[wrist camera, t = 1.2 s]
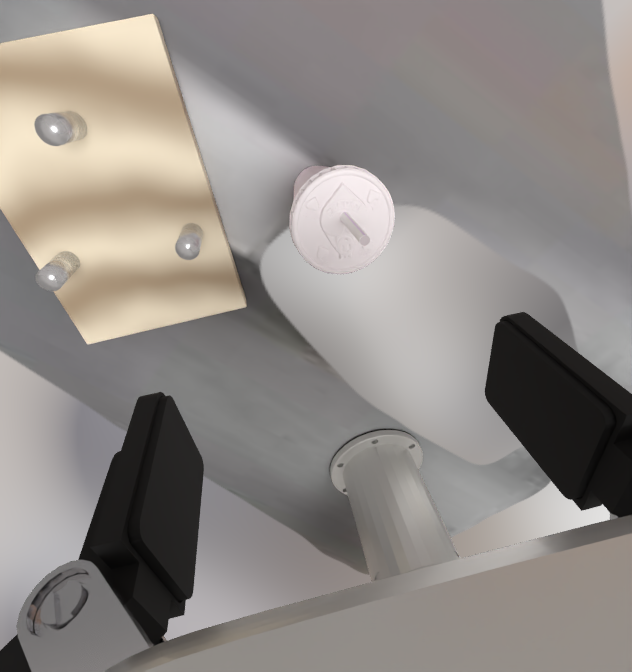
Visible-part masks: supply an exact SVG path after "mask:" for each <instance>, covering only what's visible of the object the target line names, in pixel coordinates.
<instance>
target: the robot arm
mask: <svg viewBox="0 0 632 672" xmlns="http://www.w3.org/2000/svg"><path fill="white" fill-rule="evenodd" d="M485 396H486V399H487V401H488V402H489V404H490V405H491V406H492V407H493V409H494V410H495V411H496V412H497V414H498V415H499V416H500V417H501V419H502V420H503V421H504V422H505V424H506V425H507V426H508V427H509V429H510V430H511V431H512V432H513V433H514V435H515V436H516V437H517V438H518V440H519V441H520V442H521V443H522V445H523V446H524V447H525V448H526V450H527V451H528V452H529V453H530V455H531V456H532V457H533V458H534V460H535V461H536V462H537V463H538V465H539V466H540V467H541V468H542V470H543V471H544V472H545V473H546V474H547V476H548V477H549V478H550V479H551V481H552V482H553V483H554V484H555V486H556V487H557V488H558V489H559V491H560V492H561V493H562V494H563V495H564V496H565V497H566V498H568V499H572V500H573V501H574V502H575V503H576V505H577V506H578V507H579V508H580V509H581V510H586V509H589V508H593V507H597V506H601V505H602V504H603V505H604V506H605V507H606V508H607V509H608V511H609V512H610V520H608V521H604V522H599V523H595V524H591V525H587V526H584V527H580V528H576V529H572V530H568V531H564V532H560V533H557V534H553V535H549V536H545V537H541V538H537V539H533V540H530V541H526V542H522V543H518V544H514V545H510V546H507V547H503V548H499V549H495V550H491V551H487V552H484V553H480V554H476V555H472V556H468V557H465V558H460V556H459V554H458V552H457V550H456V548H455V545H454V543H453V541H452V539H451V537H450V535H449V533H448V531H447V529H446V527H445V524H444V522H443V520H442V518H441V516H440V514H439V512H438V510H437V508H436V506H435V504H434V501H433V499H432V497H431V495H430V493H429V491H428V489H427V487H426V485H425V483H424V481H423V478H422V476H421V474H420V472H419V469H420V467H421V464H422V461H423V452H422V449H421V447H420V445H419V443H418V442H417V440H416V439H415V438H414V437H412V436H411V435H409V434H407V433H405V432H401V431H397V430H380V431H375V432H370V433H367V434H364V435H362V436H359V437H357V438H356V439H354V440H352V441H350V442H349V443H348V444H346V445H345V446H344V447H343V448H342V449H341V450H339V452H338V453H337V454H336V455H335V457H334V459H333V461H332V463H331V467H330V475H331V479H332V483H333V485H334V486H335V488H336V489H337V490H339V491H340V492H341V493H343V494H345V495H348V497H349V501H350V504H351V508H352V512H353V515H354V519H355V523H356V526H357V530H358V534H359V537H360V541H361V545H362V548H363V552H364V556H365V559H366V563H367V567H368V570H369V574H370V577H371V581H372V582H370V583H367V584H363V585H359V586H356V587H352V588H348V589H345V590H341V591H337V592H334V593H330V594H326V595H322V596H319V597H315V598H312V599H308V600H304V601H301V602H297V603H293V604H289V605H286V606H282V607H278V608H274V609H271V610H267V611H264V612H260V613H257V614H253V615H250V616H247V617H243V618H240V619H236V620H233V621H229V622H226V623H222V624H219V625H215V626H212V627H208V628H205V629H202V630H198V631H195V632H192V633H189V634H186V635H183V636H180V637H177V638H174V639H172V640H169V641H167V640H166V639H165V637H164V634H165V633H166V632H167V627H168V619H170V618H174V617H178V616H181V615H184V611H185V601H186V599H189V598H191V596H192V594H193V586H194V575H195V564H196V552H197V541H198V529H199V517H200V506H201V495H202V494H201V493H202V483H203V471H204V466H203V460H202V457H201V455H200V453H199V451H198V449H197V447H196V445H195V443H194V441H193V439H192V437H191V435H190V433H189V430H188V428H187V426H186V424H185V422H184V420H183V418H182V416H181V414H180V412H179V410H178V408H177V406H176V404H175V402H174V400H173V398H172V397H171V396H165V395H164V394H163V393H162V392H159V393H154V394H150V395H145V396H141V397H139V398H138V400H137V403H136V406H135V409H134V412H133V415H132V418H131V421H130V425H129V428H128V431H127V434H126V437H125V440H124V443H123V446H122V450H121V451H120V452H117V453H116V454H115V455H114V457H113V459H112V462H111V465H110V468H109V471H108V473H107V476H106V479H105V483H104V485H103V488H102V491H101V494H100V497H99V500H98V503H97V506H96V509H95V512H94V515H93V518H92V521H91V524H90V527H89V530H88V533H87V536H86V539H85V542H84V545H83V548H82V551H81V554H80V557H79V560H76V561H71V562H69V563H66V564H64V565H62V566H59V567H58V568H56V569H55V570H54V571H52V572H51V573H49V574H48V575H46V576H45V578H43V579H42V580H41V581H40V582H39V584H37V585H36V587H35V588H34V589H33V590H32V592H31V594H30V595H29V596H28V597H27V599H26V600H25V602H24V604H23V607H22V609H21V611H20V613H19V617H18V622H17V635H16V636H15V637H14V638H13V639H12V640H11V641H10V642H9V643H8V644H7V645H6V646H5V647H4V648H3V649H2V650H1V651H0V672H632V394H631V393H629V392H628V391H627V390H626V389H624V388H623V387H622V386H620V385H619V384H618V383H617V382H615V381H614V380H613V379H611V378H610V377H609V376H607V375H606V374H605V373H604V372H602V371H601V370H600V369H598V368H597V367H596V366H594V365H593V364H592V363H591V362H589V361H588V360H587V359H585V358H584V357H583V356H582V355H580V354H579V353H578V352H576V351H575V350H574V349H572V348H571V347H570V346H568V345H567V344H566V343H565V342H563V341H562V340H561V339H559V338H558V337H557V336H556V335H554V334H553V333H552V332H550V331H549V330H548V329H546V328H545V327H544V326H543V325H541V324H540V323H539V322H537V321H536V320H535V319H533V318H532V317H531V316H530V315H528V314H526V313H525V312H521V313H517V314H512V315H507V316H504V317H502V318H501V319H500V322H499V323H497V324H496V326H495V331H494V337H493V343H492V349H491V356H490V362H489V368H488V374H487V381H486V387H485Z"/></svg>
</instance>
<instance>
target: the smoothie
mask: <svg viewBox="0 0 632 672" xmlns="http://www.w3.org/2000/svg"><path fill="white" fill-rule="evenodd" d="M394 219H395V211H394V205H393V201H392V198H391V196H390V194H389V192H388V190H387V189H386V187H385V186H384V185H383V183H382V182H381V181H380V180H378V178H377V177H375V176H374V175H373V174H371V173H370V172H368V171H367V170H365V169H362V168H359V167H356V166H353V165H337V166H333V167H325V166H317V165H316V166H310V167H308V168H306V169H304V170H303V171H302V172H301V173H300V174H299V175H298V177H297V178H296V181H295V184H294V200H293V204H292V207H291V211H290V223H289V229H290V232H291V236H292V240H293V243H294V244H295V246H296V248H297V250H298V251H299V253H300V254H301V256H302V257H303V258H304V259H305V260H306V261H307V262H308V263H309V264H310V265H311V266H313V267H314V268H316V269H318V270H320V271H323V272H326V273H331V274H347V273H352V272H355V271H358V270H360V269H362V268H364V267H366V266H367V265H369V264H370V263H372V262H373V261H374V260H375V259H376V258H377V257H378V256H379V255H380V254H381V253H382V252H383V250H384V249H385V247H386V246H387V244H388V242H389V240H390V237H391V235H392V232H393V228H394V221H395V220H394Z"/></svg>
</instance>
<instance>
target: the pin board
mask: <svg viewBox="0 0 632 672" xmlns="http://www.w3.org/2000/svg"><path fill="white" fill-rule="evenodd" d="M0 209H1V210H2V212H3V213H4V215H5V216H6V218H7V219H8V221H9V223H10V224H11V226H12V227H13V229H14V230H15V232H16V233H17V235H18V237H19V238H20V240H21V241H22V243H23V244H24V246H25V248H26V249H27V251H28V252H29V254H30V255H31V257H32V258H33V260H34V262H35V263H36V265H37V266H38V268H39V269H40V271H38V272H37V274H36V277H35V278H36V282H37V283H38V285H39V286H40V287H42V288H43V289H45V290H48V291H54V293H55V294H56V296H57V297H58V299H59V301H60V302H61V304H62V305H63V307H64V308H65V310H66V312H67V313H68V315H69V316H70V318H71V319H72V321H73V322H74V324H75V326H76V327H77V329H78V330H79V332H80V333H81V335H82V336H83V338H84V340H85V341H86V343H87V344H92V343H96V342H100V341H104V340H109V339H113V338H117V337H121V336H126V335H130V334H134V333H138V332H143V331H147V330H151V329H155V328H159V327H164V326H168V325H172V324H176V323H181V322H185V321H189V320H193V319H198V318H202V317H206V316H210V315H214V314H219V313H223V312H227V311H231V310H236V309H240V308H244V307H246V297H245V294H244V291H243V288H242V285H241V281H240V278H239V275H238V272H237V269H236V266H235V262H234V259H233V256H232V253H231V250H230V246H229V243H228V240H227V237H226V234H225V231H224V227H223V224H222V221H221V218H220V215H219V212H218V208H217V205H216V202H215V199H214V196H213V192H212V189H211V186H210V183H209V180H208V177H207V173H206V170H205V167H204V164H203V161H202V158H201V154H200V151H199V148H198V145H197V142H196V139H195V135H194V132H193V129H192V126H191V123H190V119H189V116H188V113H187V110H186V107H185V104H184V100H183V97H182V94H181V91H180V88H179V85H178V81H177V78H176V75H175V72H174V69H173V65H172V62H171V59H170V56H169V53H168V50H167V46H166V43H165V40H164V37H163V34H162V31H161V27H160V24H159V21H158V18H157V17H156V16H155V15H154V14H149V15H144V16H139V17H134V18H128V19H123V20H118V21H113V22H108V23H103V24H98V25H92V26H87V27H82V28H77V29H72V30H67V31H61V32H56V33H51V34H46V35H41V36H36V37H30V38H25V39H20V40H15V41H10V42H5V43H0Z"/></svg>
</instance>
